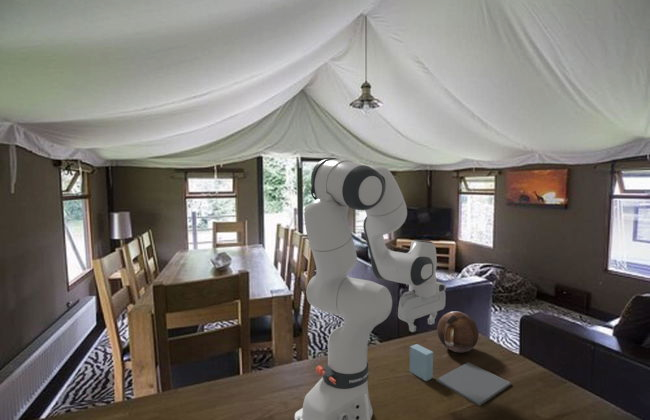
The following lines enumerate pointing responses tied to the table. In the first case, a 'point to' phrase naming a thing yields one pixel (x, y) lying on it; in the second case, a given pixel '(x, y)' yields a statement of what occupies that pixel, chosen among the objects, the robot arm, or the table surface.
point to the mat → (473, 383)
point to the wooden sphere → (457, 331)
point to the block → (421, 362)
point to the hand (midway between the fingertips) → (422, 327)
